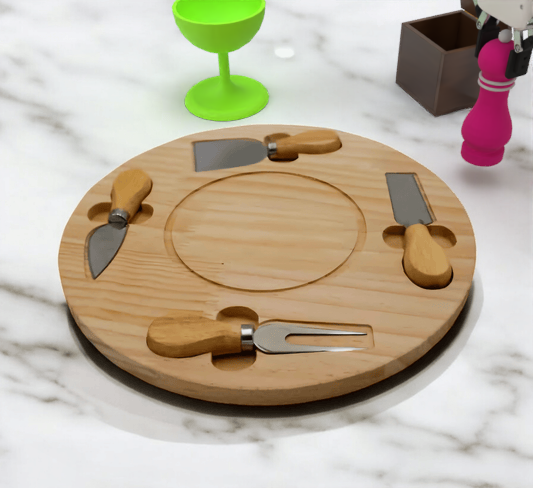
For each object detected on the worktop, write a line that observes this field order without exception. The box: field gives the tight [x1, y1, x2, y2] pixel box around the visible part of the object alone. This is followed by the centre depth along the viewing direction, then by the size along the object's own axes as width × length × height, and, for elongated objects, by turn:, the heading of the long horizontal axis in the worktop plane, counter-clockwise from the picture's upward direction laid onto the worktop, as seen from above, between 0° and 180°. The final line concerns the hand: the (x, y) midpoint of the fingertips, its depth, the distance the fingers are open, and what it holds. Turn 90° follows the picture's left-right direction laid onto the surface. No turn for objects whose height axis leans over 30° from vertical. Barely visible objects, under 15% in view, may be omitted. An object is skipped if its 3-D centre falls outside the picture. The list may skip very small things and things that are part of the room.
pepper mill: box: [460, 29, 517, 168], centre depth 93 cm, size 7×7×20 cm
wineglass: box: [171, 0, 270, 122], centre depth 117 cm, size 16×16×18 cm
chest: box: [395, 9, 500, 118], centre depth 118 cm, size 13×14×12 cm
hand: (499, 64), depth 90 cm, fingers closed on pepper mill, 6 cm apart
